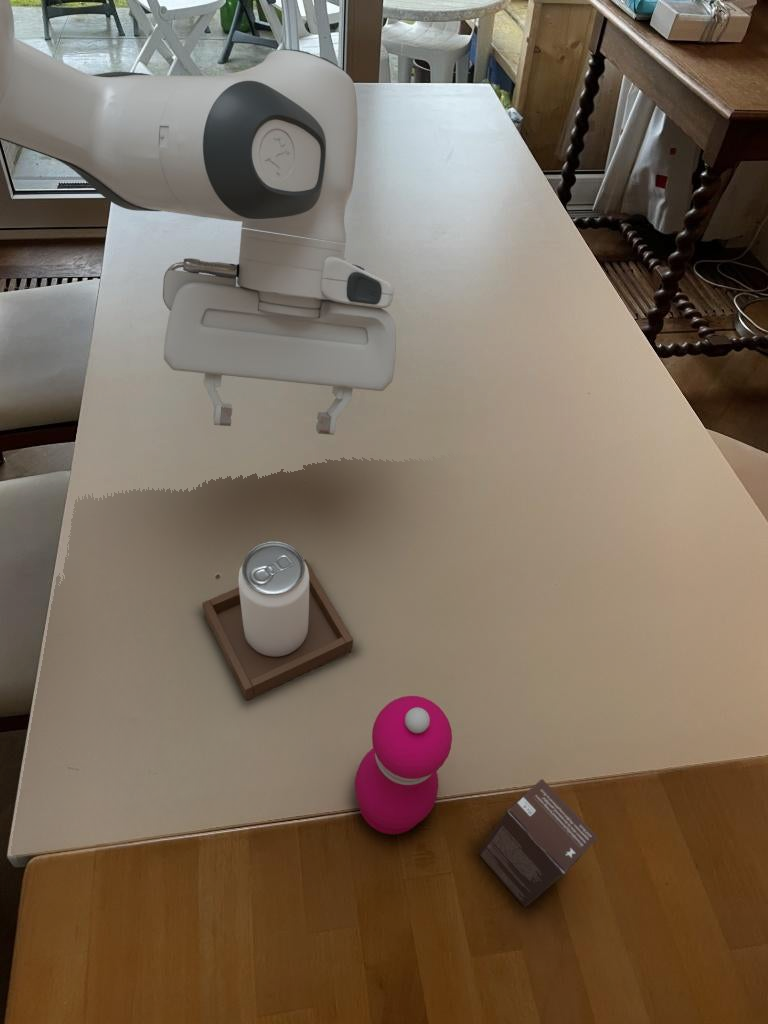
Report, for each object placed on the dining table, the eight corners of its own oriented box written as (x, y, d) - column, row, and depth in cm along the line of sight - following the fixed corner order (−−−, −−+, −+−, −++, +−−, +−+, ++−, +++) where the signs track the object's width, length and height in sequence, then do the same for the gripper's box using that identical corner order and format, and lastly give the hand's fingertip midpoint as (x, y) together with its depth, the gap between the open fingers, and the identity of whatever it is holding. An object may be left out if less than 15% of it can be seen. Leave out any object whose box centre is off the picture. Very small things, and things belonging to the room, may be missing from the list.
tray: (246, 700, 76) (245, 690, 74) (204, 614, 81) (201, 602, 79) (352, 650, 80) (353, 639, 78) (305, 571, 85) (305, 559, 83)
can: (231, 623, 80) (222, 560, 70) (284, 591, 83) (282, 525, 73) (267, 670, 77) (263, 611, 68) (320, 635, 80) (324, 573, 70)
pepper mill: (445, 816, 71) (489, 737, 55) (376, 856, 68) (400, 785, 52) (406, 746, 74) (435, 652, 58) (338, 781, 72) (349, 694, 56)
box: (558, 872, 69) (601, 837, 59) (523, 909, 67) (562, 879, 57) (509, 818, 71) (542, 775, 62) (474, 851, 69) (503, 813, 60)
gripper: (164, 256, 61) (155, 427, 66) (411, 290, 67) (388, 446, 71) (165, 252, 67) (156, 410, 71) (392, 285, 73) (372, 429, 77)
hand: (274, 428), depth 72 cm, fingers open, 8 cm apart
